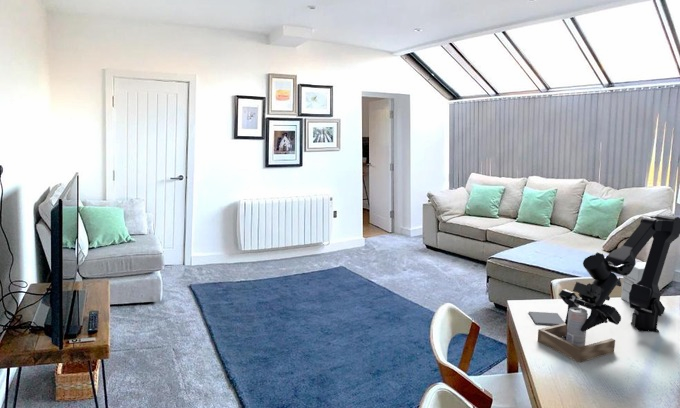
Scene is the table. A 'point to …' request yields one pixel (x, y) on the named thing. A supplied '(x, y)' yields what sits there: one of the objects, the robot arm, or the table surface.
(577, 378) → the table surface
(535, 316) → the mat
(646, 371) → the table surface
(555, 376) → the table surface
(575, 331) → the energy drink
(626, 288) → the supplement box
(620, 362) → the table surface
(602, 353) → the bay
